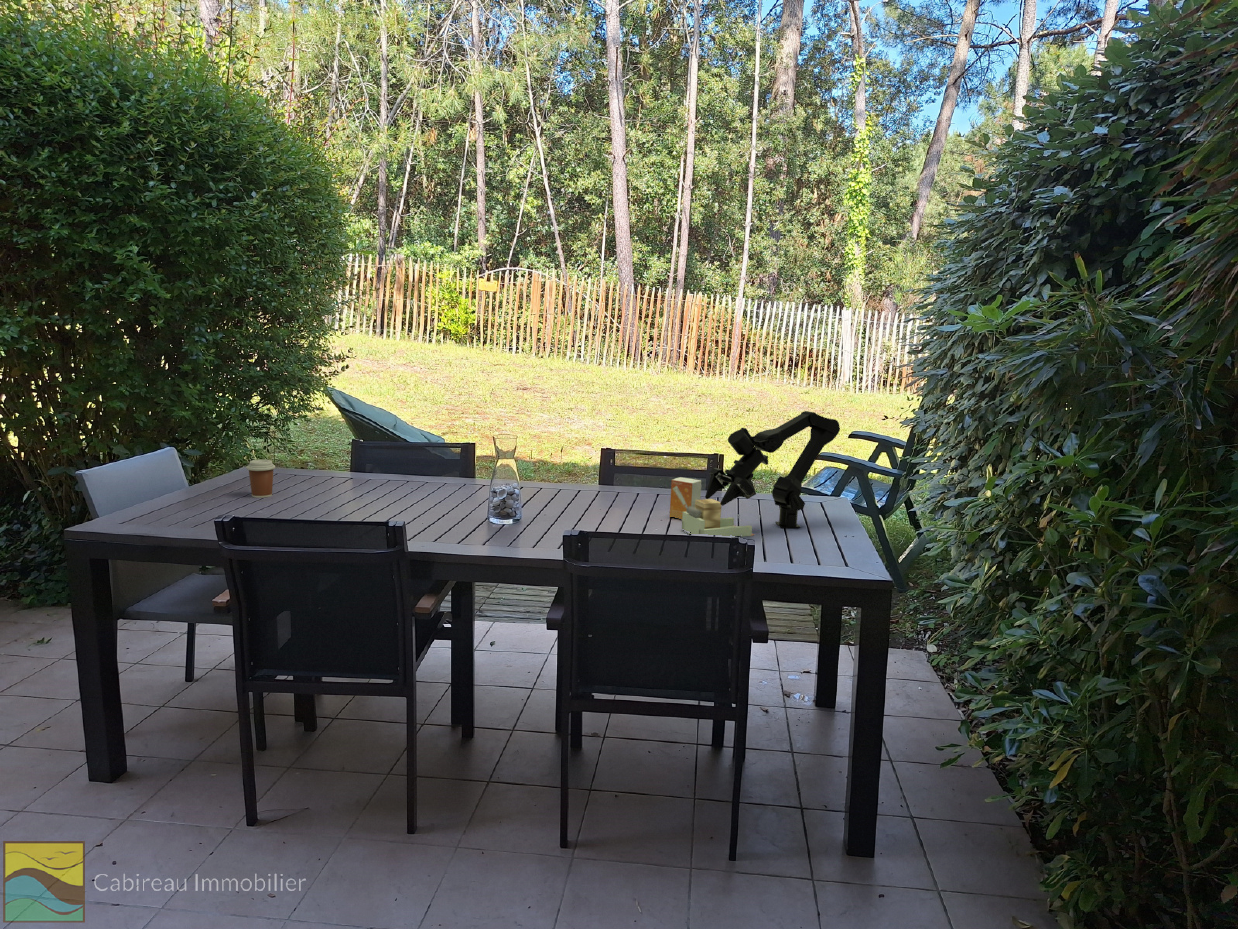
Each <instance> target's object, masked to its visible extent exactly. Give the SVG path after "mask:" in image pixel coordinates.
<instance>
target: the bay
mask: <svg viewBox="0 0 1238 929" xmlns="http://www.w3.org/2000/svg"><path fill="white" fill-rule="evenodd" d="M686 511H687V512H683V516H682V520H681V530H682V529H684V530H686V531H689V532H691V533H688V534H687V535H689V534H708V535H722V536H730V535H732V536H741V535H742V536H741V537H740V538H742V537H753V536H755V534H754V533H753V526H752V525H738V526H737V525H735V523H734V522H735V518H734V517H733V516H732V517H721V519H720V528H711V529H704V527H705V520H703V519H701V518H699V517H700V516H701V511H700V510H698V509H696V508H694V507H692V506H689V507H688V508H687V510H686Z"/></svg>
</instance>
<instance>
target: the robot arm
mask: <svg viewBox="0 0 1238 929" xmlns="http://www.w3.org/2000/svg"><path fill="white" fill-rule="evenodd" d="M808 427H809V428H810V433H809V435H810V438H809V440H808V442H807V443H806V445H805V446H804V447H803V448H804V449H803V450H802V452H801V453H800V455H799V457H798V458H797V459H796V461H795V463H794V465H793V466H792V468H791V469H790V471H789V473H788V474H787V475H786V476H779V477H778V478H777V479H776V482H775V483H774V484H773V485H772V487H773V488H772V490H771V496H772V499H773V501H774V504H775V506H777V507H779V516H778V517H779V518H778V519H779V520H778V521H774V522H775V524H776V525H777V526H778V527H780V529H800V528H801V525H799V524H798V512H799V511H800V510H802V511H803V510H804V508H805V505H806V502H805V501H804V500H803V498H801V494H802V490H803V489H802V483H803V481H804V480H805V477H807V475H808V473H809V471H810V470H811V468H812V467H813V465H814V463H815V461H816V459H817V458H818V456H819V455H820V453H821V452H822V451H823V450H822V449H823V448H824V447H825V446H826V445H828V444H830V443H831V442H832V441H834V440H835V438H836V437H837V436H838V434H840V433H839V432H840V431H841V428H840V422H839V421H838V420H837V419H834V418H829V417H824V416H822V415H820V414H818V413H816V412H813V411H809V410H806V411H805V410H804V411H802V412H801V413H800V414H799V415H797V416H795V417H793V418H792V419H790V420H787V421H786V422H784V423H782V424H781V425H779V426H778V427H775V428H772V429H771V428H770V429H765V430H762V431H759V432H757V433H756V434H755V435H753V436H752V435H751V433H750V432H749V430H748V429H747V428H745V427H741V428H740V429H739V430H735V431H734V432H732V433H730V435H728V438H727V442H728V443H729V445H730V446H731V448H733V450H734V452H735V453H736V454H737V455H738V456H741V457H740V458H739V459H735V460H734V461H733V464H734V465H732V467H730V469H725V471H723V469H721V468H717V467H713V468H712V469H711V470H710V471H709V481H708V486H707V489H706V493H705V496H704V497H705V498H704V499H711V498H712V497H713V495H715V494H716V493H717V492H718V491H719V490H724V489H726V487H727V486H728V488H727V489H726V491H725V493H724V495H723V497H722V498H721V501H720V502H721V503H720V504H721V507H722V506H725V505H727V504H729V503H730V502H732V501H734V500H736V499H738V498H740V497H741V498H745V499H747V500H748V499H750V498H753V497H754V496H756V495H757V492H756V489H755V486H754V483H753V481H752V479H753V478H754V472H755V470H756V469H757V468H758V467H759V466H760V465H761V464H763V465H766V466H768V465H769V455H766V454H764V453H769V454H772V453H775V452H776V451H777V450H778V449H780V448H781V447H782V446H783V444H784V443H785V441H786V440H788V439H790V438H792V437H794V436H795V435H797V434H798V433H800V432H802V431H804V430H805V429H807V428H808ZM763 452H764V453H763Z"/></svg>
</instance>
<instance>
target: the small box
mask: <svg viewBox="0 0 1238 929" xmlns="http://www.w3.org/2000/svg"><path fill="white" fill-rule="evenodd" d="M701 493H702V480H700V479H696V478H695V479H694V478H691V477H690V478H689V477H688V478H687V477H682V476H680V477H676V478H673V479H671V485H670V503H669V518H670V517H675V518H679V519H682V516H683V512H687V511H686V510H687V508H688V507H689V506H692V507H694V508H695V500H701ZM679 519H678V520H679Z"/></svg>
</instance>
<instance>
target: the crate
mask: <svg viewBox="0 0 1238 929" xmlns="http://www.w3.org/2000/svg"><path fill="white" fill-rule="evenodd" d="M720 503H721V501H718V500H716V499H714V498H709V499H706V498H702V499H700V500H695V508H696V509H698V510H700V511H701V516H700V517H699V518H701V519H703V520H705V527H704V529H711V528H720V519H721V518H722V516H721V515H722V505H721V504H720Z"/></svg>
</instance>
